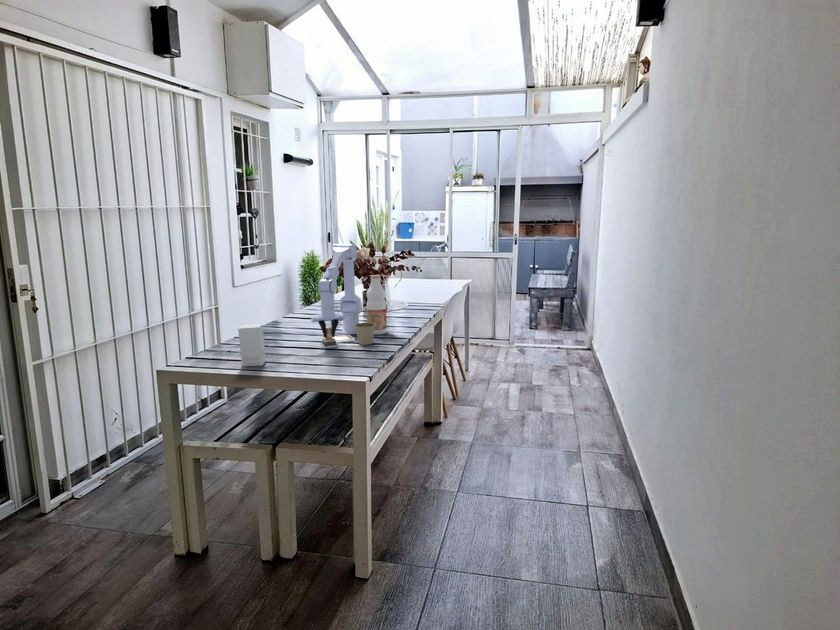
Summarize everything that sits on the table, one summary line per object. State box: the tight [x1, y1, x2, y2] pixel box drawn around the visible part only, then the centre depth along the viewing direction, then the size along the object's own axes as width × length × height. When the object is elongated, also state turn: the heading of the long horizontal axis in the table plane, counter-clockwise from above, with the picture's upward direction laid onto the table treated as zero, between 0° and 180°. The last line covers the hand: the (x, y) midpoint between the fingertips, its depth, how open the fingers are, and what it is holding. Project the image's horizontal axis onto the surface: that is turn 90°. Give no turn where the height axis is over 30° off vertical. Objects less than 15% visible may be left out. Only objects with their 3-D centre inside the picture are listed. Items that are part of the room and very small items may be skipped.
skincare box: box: [237, 323, 267, 367], centre depth 222 cm, size 8×7×16 cm
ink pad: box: [320, 342, 339, 349], centre depth 251 cm, size 7×7×1 cm
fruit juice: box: [366, 274, 388, 336], centre depth 272 cm, size 9×9×28 cm
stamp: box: [321, 326, 336, 345], centre depth 250 cm, size 5×5×7 cm
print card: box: [333, 334, 357, 344], centre depth 262 cm, size 11×10×1 cm
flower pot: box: [354, 322, 376, 346], centre depth 254 cm, size 9×9×9 cm
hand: (329, 336), depth 250 cm, fingers closed on stamp, 3 cm apart
